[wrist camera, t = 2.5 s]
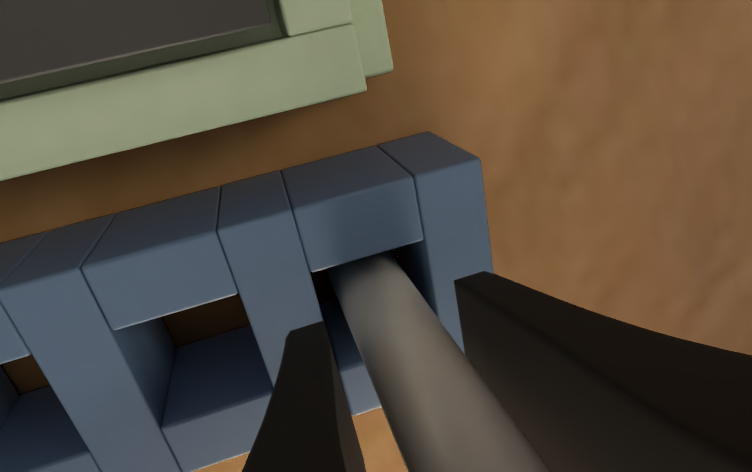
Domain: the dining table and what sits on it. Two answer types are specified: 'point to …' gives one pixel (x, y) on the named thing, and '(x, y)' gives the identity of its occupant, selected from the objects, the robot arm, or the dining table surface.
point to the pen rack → (210, 283)
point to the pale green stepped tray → (193, 85)
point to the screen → (110, 30)
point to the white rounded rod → (425, 376)
